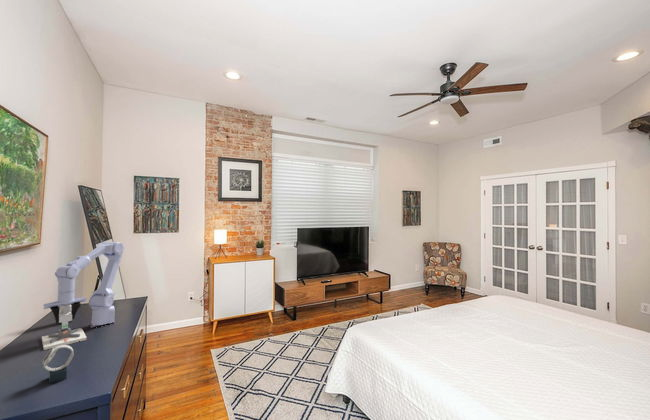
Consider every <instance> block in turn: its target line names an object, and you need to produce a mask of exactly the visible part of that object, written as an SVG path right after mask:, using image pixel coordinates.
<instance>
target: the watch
mask: <svg viewBox="0 0 650 420" xmlns="http://www.w3.org/2000/svg"><path fill="white" fill-rule="evenodd" d="M59 349H69V350H70V354H69V357H68V358H67V360H66V361H65V363H64V364H62V365H57V366H54V367H50V366H48V364H49V363H50V362H51V361H52V360H53V358H54V357H55V355H56V353H57V351H58V350H59ZM74 355H75V353H74V349H73V347H72V346H71V345H69V344H67V345H60V346H56V347H55V348H51V349H49V351H47V353H46V355H45V356H44V358H43V360H42V362H41V364H42V365H43V368H44V369H45V370H46V371H48V373H49V376H48V379H49V380H48V381H49V383H48V384H49V385H50V384H54V383H57V382H60V380H61V381H65V380H67V373H68V371H67V370H68V367H67V366H68V365H69V364H70V363H71V361H72V360H73V358H74ZM64 379H65V380H64Z"/></svg>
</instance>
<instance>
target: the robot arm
mask: <svg viewBox="0 0 650 420" xmlns="http://www.w3.org/2000/svg"><path fill="white" fill-rule="evenodd" d="M124 251H125V246H124V244H123V242H121V241H102V242H100V243H99V244H97V246H96V247H95V248H93V250H91V251H90V252H89V253H87V254H86V255H78V256H76V258H75V259H74V260H72V261H70V262H68V263H67V264H66V265H61V266H59V267H58V268H57V269H56V272H54V275H55V277H56V278H57V282H58V286H57V300H56V301H52V302H47V303H43V310H49V309H50V310H51V312H52V314H53V316H54V320H55V323H56V324H58V323H59V310H60V306H63V305H69V304H71V307H72V312H71V313H72V321H73V320H75V317H76V315H77V312H78V310H79V309H80V307H81V303H85V302H87V297H74V293H75V290H76V289H75V287H76V286H75V285H76V278H77V276H78V275H79V273H80V272H81V271H82V270H84V269H85V268H86V267H88V266H89V265H90V264H91V261H93V260H95V259H96V258H98V257H100V256H102V255H104V256H105V257H106V258H107V260H108V262H107V264H106V267H105V269H104V272H103V275H102V278H101V281H100V283H99V287H98V289H96V290H95V291H93V292H92V295H91V296H90V297H89V299H88V306H89V307H90V309H91V314H92V315H91V323H92V325H93V326H95V325H103V324H107V323H112V322H115V318H116V316H115V315H116V309H115V306H114V305H113V303H114V301H115V292H114V291H113V290H112V288H113V285H114V283H115V279H116V276H117V273H118V270H119V266H120V264H121V261H122V256H123V253H124ZM59 324H60V323H59Z"/></svg>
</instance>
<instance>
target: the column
mask: <svg viewBox="0 0 650 420" xmlns="http://www.w3.org/2000/svg"><path fill="white" fill-rule="evenodd" d="M71 320H72V313H71V312H69V313H63V314H59V324H60V323H61V322H62V323H61V329H65V328H69V322H72V321H73V320H72V321H71ZM68 321H69V322H68Z"/></svg>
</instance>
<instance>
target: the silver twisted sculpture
mask: <svg viewBox="0 0 650 420" xmlns="http://www.w3.org/2000/svg"><path fill="white" fill-rule="evenodd" d="M75 295H76V293H75V292H74V298H76V297H75ZM59 309H60V310H59V314H63V313H69V312H72V307H71V304H69V305H63V306H59ZM72 321H73V320H71V321H68V323H69V322H72ZM61 324H62V322H61Z"/></svg>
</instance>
